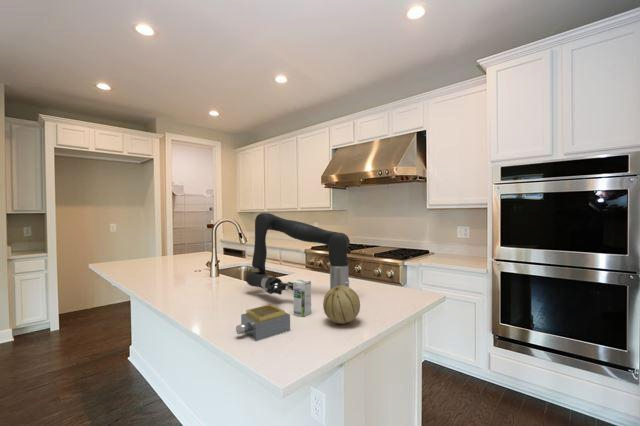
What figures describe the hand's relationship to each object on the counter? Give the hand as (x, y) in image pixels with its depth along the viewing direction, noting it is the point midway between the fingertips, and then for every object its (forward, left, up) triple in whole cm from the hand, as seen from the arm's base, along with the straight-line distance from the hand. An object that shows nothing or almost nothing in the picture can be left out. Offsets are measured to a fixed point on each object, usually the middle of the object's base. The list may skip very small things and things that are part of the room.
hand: (289, 290), depth 140 cm
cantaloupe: (-26, +14, -8) cm, 31 cm away
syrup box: (-8, +7, -8) cm, 13 cm away
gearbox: (+2, +28, -8) cm, 29 cm away
